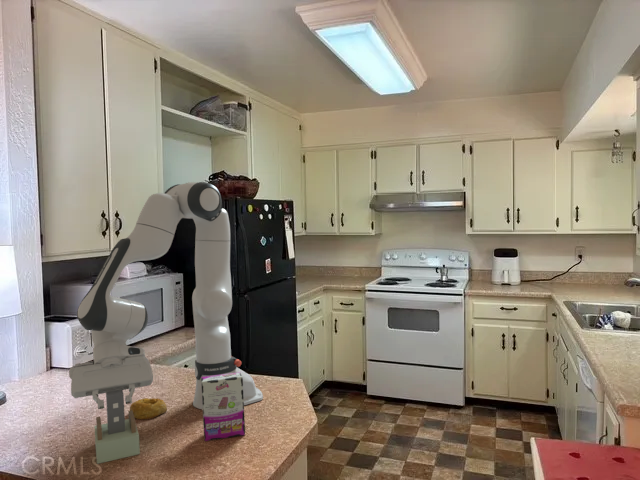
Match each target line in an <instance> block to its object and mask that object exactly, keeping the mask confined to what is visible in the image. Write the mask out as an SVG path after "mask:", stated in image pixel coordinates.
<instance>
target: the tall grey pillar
mask: <svg viewBox="0 0 640 480" xmlns="http://www.w3.org/2000/svg"><path fill="white" fill-rule="evenodd" d="M105 399H106V400H105V402H106V403H105V404H106V418H107V419H106V422H107V424H108V434H114V433H119V432H124V431H125V420H126V418H125V397H124V390H116V391H110V392H106V393H105Z"/></svg>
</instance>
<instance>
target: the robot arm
mask: <svg viewBox="0 0 640 480" xmlns="http://www.w3.org/2000/svg"><path fill="white" fill-rule="evenodd" d="M222 202H223V201H222V195H221V193H220V191H219V189H218V188H217V187H216V186H215V185H213V184H212V183H208V182H205V181H201V182H200V181H199V182H196V181H191V182H189V181H188V182H185V183H181V184H175V185H171V186H170V187H169V188H167V189H166V190H165V192H157V193H153V194H151V195H149V196H148V198H147V199H146V202H145V203H144V205H143V207H142V209H141V211H140V213H139V215H138V217H137V221H136V224H135V226H134V228H133V230H132V231H131V233H130V234H129V235H127V237H126V238H122V239H119V240H118V241H117V243H116V244H115V246H114V247H113V248H112V250H111V251H110V253H109V255H108V256H107V258H106V260H105V262H104V263H103V266H102V267H101V269H100V270H99V272H98V275H97V276H96V278H95V280H94V282H93V284H92V286H91V287H90V288H89V291H88V292H87V293H86V294H85V295H84V297H83V298H82V300H81V302H80V303H79V305H78V308H77V312H76V317H77V320H78V321H79V323H80V325H81V326H82V327H83V329H85V330H86V331H91V339H92V340H91V341H92V342H93V349H92V355H93V356H92V357H93V361H86V362H82V363H81V362H78V363H74V365H72V366H71V367H70V368H69V370H68V377H69V378H70V379H71V383H70V394H71V396H72V397H73V398H74V399H80V398H85V397H86V398H87V397H89V396H91V397H92V399H93V401H94V402H95V403H96V404H97V410H102V409H105V401H104V399H100V397H99V395H102V394H106V392H110V391H116V390H123V391H124V390H128V394H127V395H125V397H124V402H125V405H129V404H132V403H133V398H132V397H133V395H134V393H135V390H136V389H137V388H142V387H149V386H150V385H152V383H153V381H154V375H153V374H154V373H153V369H152V365H151V363H150V360H149V358H148V357H147V356H146V353H145V352H146V351H145V348H143V347H137V346H130V345H127V341H128V340H132V339H133V338H135V337H136V336H138V335H139V334H140V333H142V332H143V331H144V330H145V329H146V328H147V325H148V321H149V320H148V319H149V315H148V309H147V308H146V306H145V304H144V303H141V302H138V301H134V300H130V299H126V298H121V297H118V296H117V297H116V296H113V295H111V294H112V293H111V292H112V291H113V289H114V287H115V286H116V283H117V282H118V280H119V278H120V276H121V274H122V272H123V270H124V269H125V268H126V267H127V266H129V265H130V264H131V263H136V262H140V261H151V260H156V259H159V258H161V257H163V256H164V255H166V254H167V253H168V252H169V249H170V248H171V246H172V243H173V240H174V238H175V233H176V230H177V226H178V224H179V223H180V221H181V220H182V219H190V220H191V219H192V220H193V223H194V224H195V225H194V226H195V242H194V244H195V245H194V246H195V248H194V267H195V268H194V269H195V271H194V272H195V288H194V289H193V292H192V296H191V301H192V315H193V325H194V336H195V337H194V339H195V357H196V358H195V361H194V375H195V380H196V381H195V392H194V397H193V401H192V406H193V407H194V408H197V409H199V410H203V407H202V388H201V377H206V376H214V375H221V374H229V373H238V372H241V375H242V378H243V397H244V406H247V405H249V404H253V403H256V402H260V401H262V400H263V398H264V395H263V392H262V391H261V390H260V388H258V387H256V383H255V381H254V379H253V377H252V376H251V375H250V374H249V373H247V372H246V371H244V370H242V369H240V368H239V367H241V365H242V361H241V360H240V359H238V358H236V357H234V356H232V349H231V345H232V344H231V332H230V326H229V320H228V319H229V318H228V317H229V314H230V313H231V311H232V307H233V292H232V275H231V224H230V218H229V213H228V211H227V209H225V208H223V203H222Z"/></svg>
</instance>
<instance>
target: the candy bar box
mask: <svg viewBox="0 0 640 480" xmlns="http://www.w3.org/2000/svg"><path fill="white" fill-rule="evenodd" d="M201 388H202V407H203V409H202V422H203V423H202V424H203V437H204V442H209V441H216V440H222V439H228V438H234V437H240V436H245V435H246V424H245V423H246V422H245V421H246V419H245V418H246V417H245V405H244V397H243V378H242V375H241V372H238V373H229V374H221V375H214V376H206V377H201Z"/></svg>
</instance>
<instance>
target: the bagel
mask: <svg viewBox="0 0 640 480" xmlns="http://www.w3.org/2000/svg"><path fill="white" fill-rule="evenodd" d="M131 410H132V411H133V414H134V417H135V420H136V419H137V420H148V419H153V418H156V417H158V416H160V415H162V414H165V413H167V412H168V406H167V404H166V402H165V401H164V399H160V398H153V397H152V398H141V399H138V400H135V401H134V402H132V403H131V405H130V406H129V411H131Z"/></svg>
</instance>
